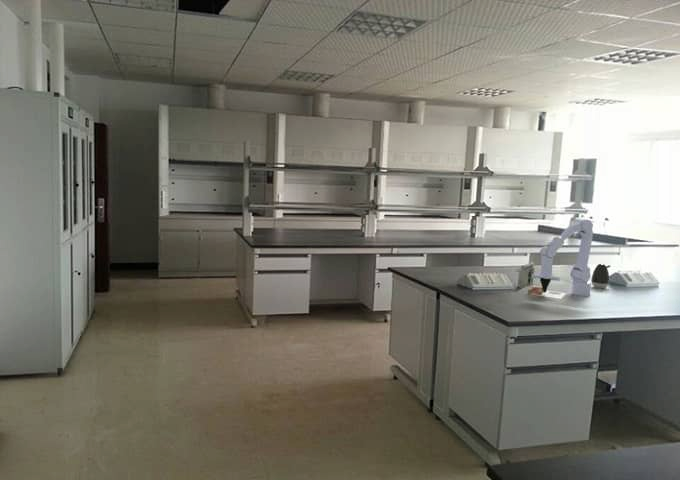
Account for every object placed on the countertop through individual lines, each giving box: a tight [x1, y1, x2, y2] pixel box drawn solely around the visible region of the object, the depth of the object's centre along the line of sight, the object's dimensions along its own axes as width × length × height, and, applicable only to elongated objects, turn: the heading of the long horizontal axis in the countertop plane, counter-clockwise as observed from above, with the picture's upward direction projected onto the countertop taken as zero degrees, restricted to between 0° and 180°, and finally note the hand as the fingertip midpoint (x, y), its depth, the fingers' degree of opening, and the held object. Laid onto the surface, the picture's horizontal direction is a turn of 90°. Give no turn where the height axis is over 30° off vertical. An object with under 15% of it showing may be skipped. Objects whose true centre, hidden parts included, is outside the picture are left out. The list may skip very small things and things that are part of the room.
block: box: [531, 285, 544, 296], centre depth 297 cm, size 5×5×4 cm
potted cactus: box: [590, 263, 611, 290], centre depth 329 cm, size 10×10×15 cm
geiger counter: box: [515, 261, 535, 289], centre depth 328 cm, size 14×6×25 cm
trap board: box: [526, 287, 567, 300], centre depth 298 cm, size 18×18×4 cm
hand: (544, 292), depth 295 cm, fingers closed
